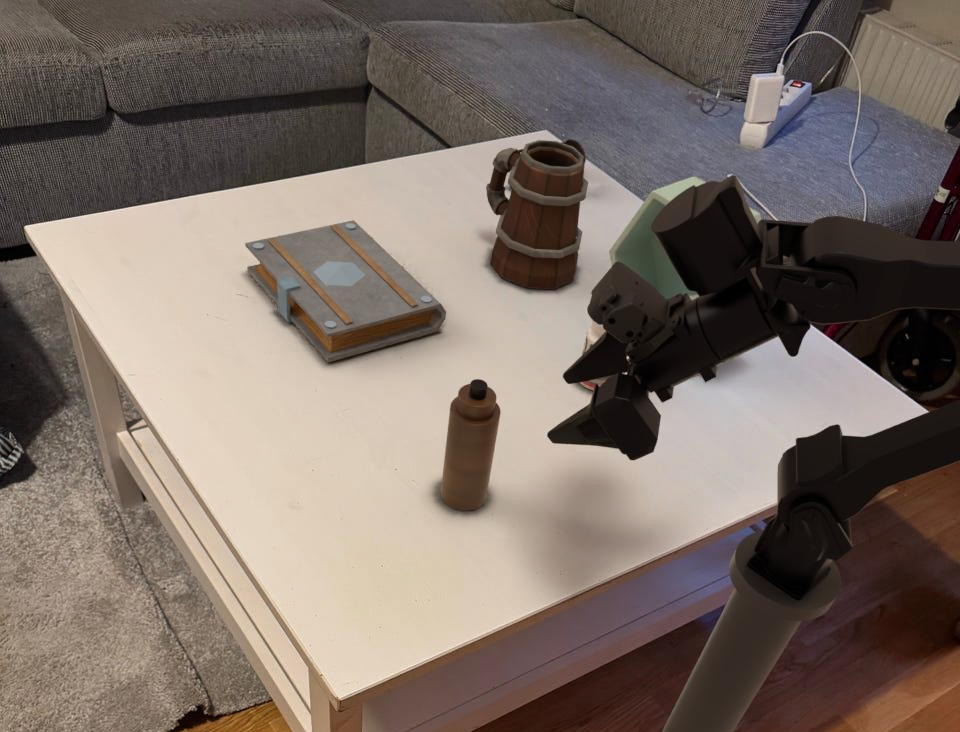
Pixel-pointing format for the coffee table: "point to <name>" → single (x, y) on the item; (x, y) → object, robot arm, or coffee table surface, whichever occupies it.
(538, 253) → the mug
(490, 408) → the pepper mill
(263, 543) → the coffee table surface
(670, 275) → the planter
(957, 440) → the robot arm
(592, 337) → the pill bottle
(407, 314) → the book
